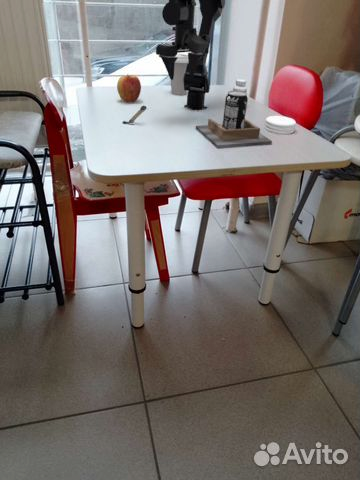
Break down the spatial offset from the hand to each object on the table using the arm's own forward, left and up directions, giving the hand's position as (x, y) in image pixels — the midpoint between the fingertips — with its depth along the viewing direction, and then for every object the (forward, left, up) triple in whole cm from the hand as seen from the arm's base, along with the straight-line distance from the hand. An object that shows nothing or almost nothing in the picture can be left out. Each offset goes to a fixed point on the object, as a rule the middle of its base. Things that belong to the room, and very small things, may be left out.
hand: (181, 78), depth 119 cm
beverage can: (0, +24, -12) cm, 27 cm away
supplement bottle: (-30, +2, -13) cm, 33 cm away
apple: (+2, -27, -13) cm, 30 cm away
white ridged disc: (-19, +29, -14) cm, 37 cm away
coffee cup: (-24, -26, -13) cm, 38 cm away
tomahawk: (+11, -9, -14) cm, 20 cm away
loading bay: (0, +24, -13) cm, 27 cm away
